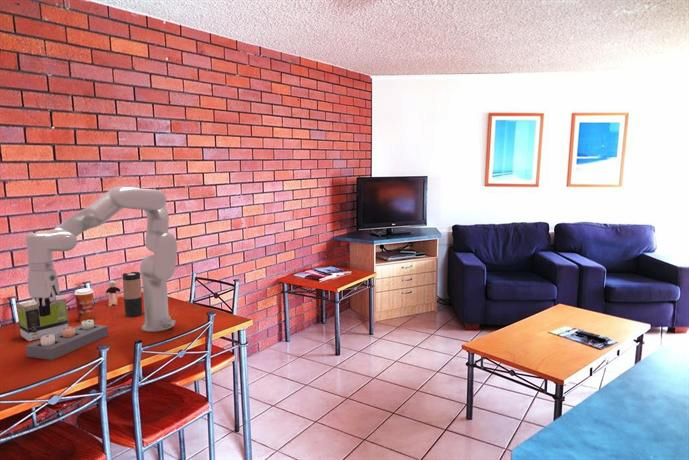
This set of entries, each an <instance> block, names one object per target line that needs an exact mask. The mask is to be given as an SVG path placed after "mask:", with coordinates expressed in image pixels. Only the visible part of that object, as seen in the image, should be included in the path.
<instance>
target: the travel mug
mask: <svg viewBox="0 0 689 460" xmlns="http://www.w3.org/2000/svg"><path fill="white" fill-rule="evenodd" d="M141 281H142V279H141V273H140V271H132V272H130V273H127V272H124V273H122V286H123V287H122V289H123V303H124V313H125V317H127V318H136V317H139V316H141V315H142V314H143V297H142V286H141V285H142V284H141V283H142V282H141Z"/></svg>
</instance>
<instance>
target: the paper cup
mask: <svg viewBox="0 0 689 460" xmlns="http://www.w3.org/2000/svg"><path fill="white" fill-rule="evenodd" d="M73 295H75V303H76V309H77V315H78V321H79V322H82V321H84V320H94V290H93V289H92V288H91V287H84V288H83V287H82V288H80V289H79V288H78V289H76V290H75V291H74V294H73Z"/></svg>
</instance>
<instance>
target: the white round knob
mask: <svg viewBox="0 0 689 460" xmlns="http://www.w3.org/2000/svg"><path fill="white" fill-rule="evenodd" d="M55 335H56V334H55ZM55 335H53V334H49V335H44V336H42V337H40V340H41V346H43V347H49V346H51V345H54V344H55Z"/></svg>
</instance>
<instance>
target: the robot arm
mask: <svg viewBox="0 0 689 460" xmlns="http://www.w3.org/2000/svg"><path fill="white" fill-rule="evenodd" d="M166 204H167V196H166V195H165V193H164V192H163V191H162V190H159V189H154V188H140V187H131V186H118V185H117V186H115V187H112V188H111V189H109V190H108V191H107V192H105V193H104V194H103V195H101V196H100V197H99V198H97V199H96V200H95V201H93V202H92V203H91V204H89V205H88V206H87V207H85V208H84V209H82V210H80V211H78V212H77V213H75V214H73V215H72V216H70V217H68V218H67V219H66V220H64V221H62V222H60V224H58V225H57V226H56V227H55V228H53V229H52V230H50V232H45V231H43V232H41V231H40V232H39V231H38V232H32V233H31V232H30V233H28V234H27V235H26V237H25V238H26V239H25V241H26V252H27V263H28V265H27V266H28V273H27V290H28V295H29V297H30V298H31V300H35V301H36V302H37V305H38V306H39V316H42V317H45V316H48V315H50V314H51V312H50V304H51V302H52V301H55V300H56V296H60V285H59V279H58V275H57V272H56V269H54V257H53V252H68V251H72V250H74V249H75V248H76V247H77V244H78V238H77V237H79V235H81V234H83V233H84V232H87V231H88V230H90V229H94V228H97V227H100V226H102V225H104V224H105V223H106V222H108V221H109V220H110V219H111V218H113V217H114V216H115V215H117V214H118V213H119V212H121V210H123V209H128V210H141V211H142V210H143V211H144V213H145V214H146V220H147V224H146V234H145V248H146V249H147V250H148V251H150V252H152V253H153V255H148V256H146V257H144V258H143V259H142V260H141V262H140V265H139V270H140V271H139V272H140V278H141V281H142V282H141V283H142V291H143V306H144V308H143V309H144V310H143V311H144V323H143V325H141V331H143V332H146V333H156V332H157V333H158V332H163V331H166V330H169V329H171V328H172V327H174V326H175V324H176V320H174V319H172V316H170V315H169V299H168V285H167V281H168V280H171V278H172V277H173V275H174V274H175V270H176V265H177V255H178V242H177V239H176V237H175V236H174V235H173V234H172V233H171V232H169V226H170V225H169V221H170V217H169V211H168V209H167V207H166Z"/></svg>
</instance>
